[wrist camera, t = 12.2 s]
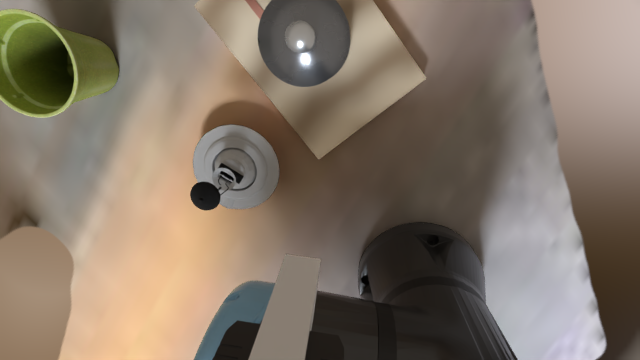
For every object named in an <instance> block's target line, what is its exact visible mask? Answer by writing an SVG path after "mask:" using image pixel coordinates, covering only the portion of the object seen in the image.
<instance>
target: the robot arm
mask: <svg viewBox="0 0 640 360" xmlns="http://www.w3.org/2000/svg"><path fill="white" fill-rule="evenodd" d="M320 263H321V259H318V258H311V257H304V256H297V255H290V254H286V255H285V258H284V261H283V263H282V266H281V269H280V272H279V275H278V278H277V280H276V283H270V282H262V281H248V282H245V283H243V284H241V285H239V286H238V287H237V288H235V289H234V290H233V291H232V292H231V293H230V294H229V295H228V297H227V298H226V299H225V301H224V302H223V304H222V305H221V306H220V308H219V310H218V311H217V313H216V315H215V316H214V318H213V320H212V322H211V323H210V325H209V327H208V329H207V331H206V333H205V335H204V337H203V340H202V342H201V344H200V346H199V349H198V351H197V353H196V356H195V358H194V360H518V359H517V358H516V356H515V354H514V352H513V351H512V349H511V347H510V345H509V344H508V342H507V340H506V338H505V337H504V335H503V333H502V331H501V330H500V328H499V326H498V324H497V323H496V321H495V319H494V317H493V316H492V314H491V312H490V311H489V309H488V307H487V305H486V296H485V277H484V272H483V268H482V265H481V263H480V261H479V259H478V257H477V255H476V254H475V252H474V251H473V249H472V248H471V246H470V245H469V244H468V242H467V241H466V240H465V239H464V238H462V237H461V236H460V235H459V234H457V233H456V232H454V231H452V230H450V229H448V228H446V227H443V226H440V225H437V224H431V223H409V224H404V225H400V226H397V227H394V228H392V229H390V230H388V231H386V232H384V233H382V234H381V235H379V236H378V237H377V238H376V239H375V240H374V241H372V243H371V244H370V245H369V246H368V247H367V249H366V250H365V252H364V254H363V256H362V258H361V260H360V264H359V269H358V287H359V293H360V297H361V299H360V298H354V297H349V296H344V295H338V294H333V293H328V292H322V291H317V286H318V278H319V271H320Z"/></svg>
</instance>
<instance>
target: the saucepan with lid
mask: <svg viewBox="0 0 640 360" xmlns="http://www.w3.org/2000/svg"><path fill="white" fill-rule="evenodd" d="M350 44H351V37H350V29H349V24H348V20H347V18H346V15H345V13H344V11H343V9H342V8H341V6H340V5H339V3H338V2H337V1H336V0H271V1H270V3H269V4H268V5H267V6H266V8H265V10H264V12H263V14H262V16H261V19H260V22H259V27H258V46H259V50H260V53H261V56H262V59H263V61H264V63H265V64H266V66H267V67H268V69H269V70H270V71H271V72H272V73H273V74H274V75H275V76H276V77H277V78H279V79H280V80H282V81H283V82H285V83H287V84H290V85H293V86H298V87H311V86H315V85H319V84H321V83H323V82H325V81H327V80H328V79H330V78H332V77H333V76H334V75H335V74H337V73H338V72H339V71H340V69H341V68H342V67H343V65H344V64H345V62H346V60H347V57H348V55H349V51H350Z"/></svg>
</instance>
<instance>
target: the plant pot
mask: <svg viewBox="0 0 640 360" xmlns="http://www.w3.org/2000/svg"><path fill="white" fill-rule="evenodd" d="M118 75H119V68H118V65H117V63H116V60H115V57H114V54H113V52H112V51H111V49H110V48H109V47H108V46H107V45H106V44H105V43H103V42H102V41H100V40H98V39H95V38H92V37H89V36H86V35H82V34H79V33H75V32H72V31H69V30H66V29H63V28H60V27H57V26H55V25H53V24H52V23H51V22H49V21H48V20H46V19H45V18H43V17H41V16H39V15H37V14H35V13H32V12H29V11H25V10H21V9H6V10H1V11H0V99H1V100H2V101H3V102H4V103H5V104H6V105H8V106H9V107H10V108H12V109H14V110H16V111H18V112H19V113H22V114H24V115H27V116H31V117H38V118H45V117H51V116H55V115H57V114H60V113H62V112H63V111H65V110H66V109H67V108H68V107H69V106H70V105H71V104H73V103H74V102H77V101H80V100H83V99H86V98H89V97H92V96H96V95H99V94H102V93H105V92H107V91H109V90H110V89H112V88H113V86H114V85H115V84H116V82H117V79H118Z"/></svg>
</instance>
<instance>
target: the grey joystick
mask: <svg viewBox="0 0 640 360" xmlns="http://www.w3.org/2000/svg"><path fill="white" fill-rule="evenodd" d="M193 168H194V174H195V176H196V179H197V181H198V183H197V184H195V185H194V186H193V187H192V190H191V193H190V196H191V200H192V202H193V204H194V205H195V206H197V207H198V208H199V209H202V210H211V209H214V208H216V207H217V206H218V204H221V205H222V206H224V207H226V208H229V209H247V208H253V207H256V206H258V205H260V204H261V203H263V202H264V201H266V200H267V199H268V198H269V197H270V196H271V194H272V193H273V192H274V190H275V188H276V186H277V184H278V180H279V162H278V159H277V156H276V153H275V152H274V150H273V148H272V146H271V145H270V144H269V142H268V141H267V140H266V139H265V138H264V137H263V136H261V135H260V134H259V133H258V132H256V131H254V130H252V129H250V128H247V127H244V126H241V125H233V124H232V125H223V126H219V127H216V128H214V129H212V130H210V131H209V132H207V133H206V134H205V135H204V136H203V137H202V138H201V139H200V141H199V143H198V144H197V146H196V149H195V152H194V158H193Z"/></svg>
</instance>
